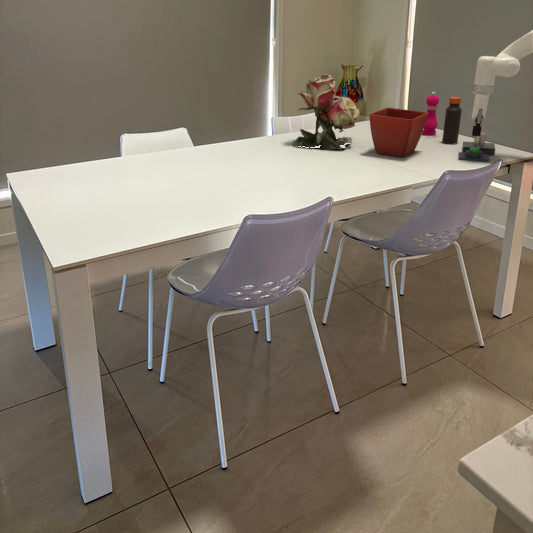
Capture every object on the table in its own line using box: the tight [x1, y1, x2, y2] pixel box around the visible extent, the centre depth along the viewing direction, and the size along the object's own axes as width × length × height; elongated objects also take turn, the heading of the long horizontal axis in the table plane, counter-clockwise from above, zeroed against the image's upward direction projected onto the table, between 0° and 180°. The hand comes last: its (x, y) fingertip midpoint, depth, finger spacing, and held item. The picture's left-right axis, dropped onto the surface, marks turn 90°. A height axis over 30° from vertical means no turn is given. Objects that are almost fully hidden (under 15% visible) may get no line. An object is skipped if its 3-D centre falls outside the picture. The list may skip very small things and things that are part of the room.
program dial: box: [473, 131, 487, 146], centre depth 252 cm, size 4×4×5 cm
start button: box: [470, 147, 479, 153], centre depth 243 cm, size 4×4×2 cm
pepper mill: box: [421, 91, 440, 137], centre depth 281 cm, size 7×7×20 cm
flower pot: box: [369, 107, 428, 158], centre depth 250 cm, size 19×19×17 cm
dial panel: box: [461, 141, 496, 156], centre depth 254 cm, size 13×10×3 cm
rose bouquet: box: [292, 73, 361, 151], centre depth 264 cm, size 26×29×30 cm
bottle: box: [441, 96, 463, 145], centre depth 265 cm, size 7×7×20 cm
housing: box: [457, 150, 490, 163], centre depth 244 cm, size 12×9×3 cm
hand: (475, 135), depth 240 cm, fingers closed
